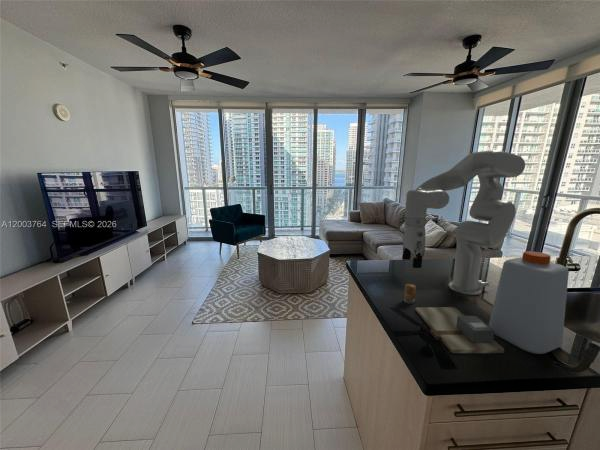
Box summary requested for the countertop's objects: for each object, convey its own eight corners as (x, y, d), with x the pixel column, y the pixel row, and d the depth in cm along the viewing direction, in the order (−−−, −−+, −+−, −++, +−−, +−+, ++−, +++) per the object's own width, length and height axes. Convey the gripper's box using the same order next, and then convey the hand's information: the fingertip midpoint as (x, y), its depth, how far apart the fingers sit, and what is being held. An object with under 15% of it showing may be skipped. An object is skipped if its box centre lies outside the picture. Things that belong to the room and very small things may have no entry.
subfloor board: (458, 309, 96) (458, 306, 96) (509, 352, 72) (509, 348, 72) (411, 310, 96) (411, 307, 96) (447, 353, 72) (447, 349, 72)
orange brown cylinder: (411, 299, 105) (413, 283, 104) (416, 303, 101) (417, 287, 100) (402, 299, 105) (403, 283, 104) (406, 304, 101) (407, 288, 100)
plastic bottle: (567, 346, 75) (586, 257, 69) (537, 359, 69) (554, 265, 64) (510, 320, 89) (522, 244, 83) (482, 329, 83) (492, 250, 78)
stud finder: (474, 326, 83) (475, 315, 82) (492, 342, 75) (494, 329, 74) (456, 326, 83) (457, 315, 82) (472, 342, 75) (474, 329, 74)
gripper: (436, 225, 88) (431, 271, 91) (414, 218, 105) (411, 256, 108) (415, 225, 88) (411, 271, 91) (396, 218, 105) (394, 256, 108)
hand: (411, 263), depth 100 cm, fingers open, 9 cm apart
